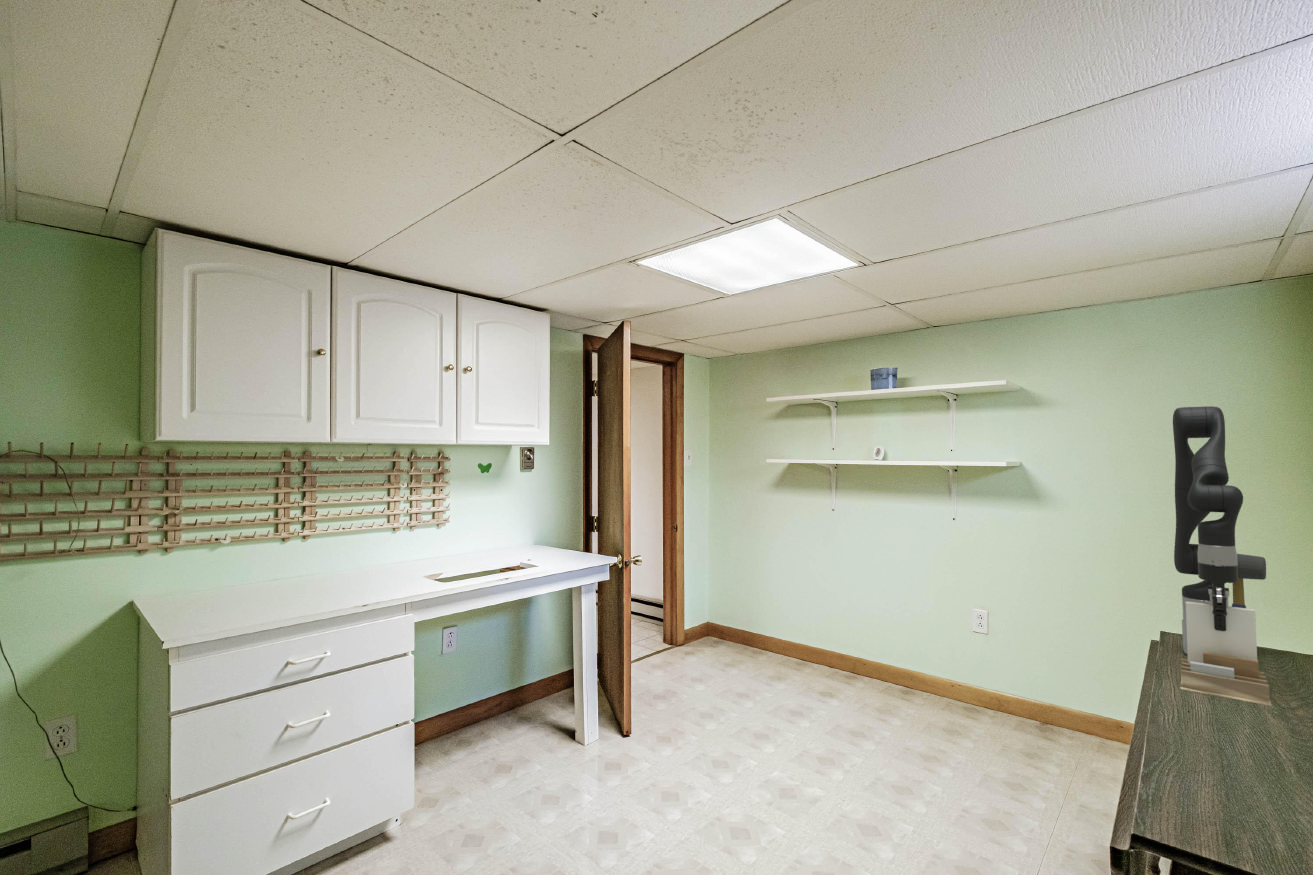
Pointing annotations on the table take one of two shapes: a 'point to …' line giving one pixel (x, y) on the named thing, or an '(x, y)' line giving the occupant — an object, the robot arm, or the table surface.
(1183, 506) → the robot arm
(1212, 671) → the offcut grey
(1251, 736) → the table surface
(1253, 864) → the table surface
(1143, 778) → the table surface
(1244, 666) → the offcut oak
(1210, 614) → the sheet
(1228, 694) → the rack
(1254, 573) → the rubber mallet
